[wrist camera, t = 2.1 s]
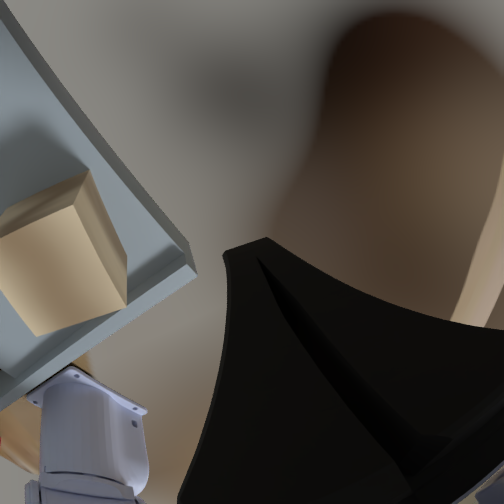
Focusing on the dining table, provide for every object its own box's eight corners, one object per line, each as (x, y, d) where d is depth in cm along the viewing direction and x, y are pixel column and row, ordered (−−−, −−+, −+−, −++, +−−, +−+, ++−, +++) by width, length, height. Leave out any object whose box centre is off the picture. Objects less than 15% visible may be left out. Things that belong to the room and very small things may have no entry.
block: (89, 169, 13) (73, 204, 10) (127, 256, 16) (126, 307, 13) (6, 208, 12) (-25, 251, 9) (49, 284, 15) (36, 337, 12)
